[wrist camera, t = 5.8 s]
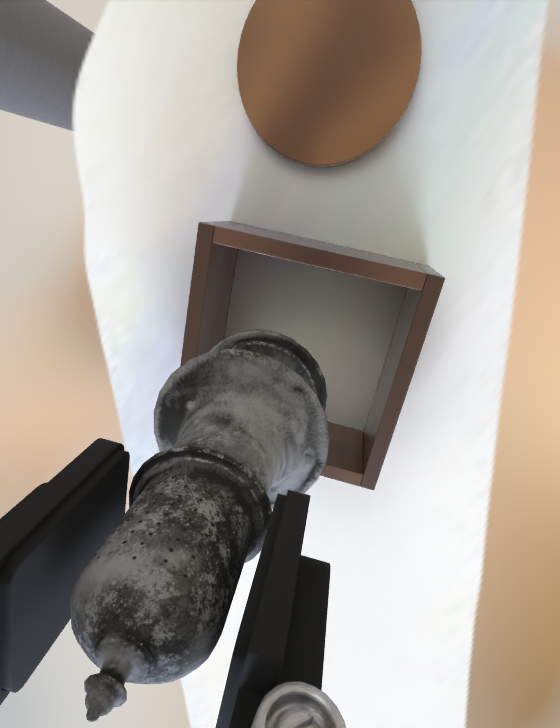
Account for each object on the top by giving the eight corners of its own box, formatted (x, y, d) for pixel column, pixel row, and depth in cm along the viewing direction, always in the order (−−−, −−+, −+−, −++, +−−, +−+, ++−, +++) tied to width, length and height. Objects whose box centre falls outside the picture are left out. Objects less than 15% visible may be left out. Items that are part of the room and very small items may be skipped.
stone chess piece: (351, 443, 17) (341, 856, 6) (218, 467, 19) (20, 837, 8) (311, 304, 16) (205, 526, 5) (170, 342, 17) (-168, 581, 6)
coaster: (227, 148, 24) (224, 147, 23) (256, -57, 21) (253, -65, 20) (389, 182, 23) (390, 181, 22) (445, -28, 20) (448, -35, 19)
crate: (202, 399, 29) (171, 434, 24) (229, 221, 25) (198, 221, 20) (372, 445, 28) (374, 490, 23) (429, 265, 24) (445, 277, 19)
